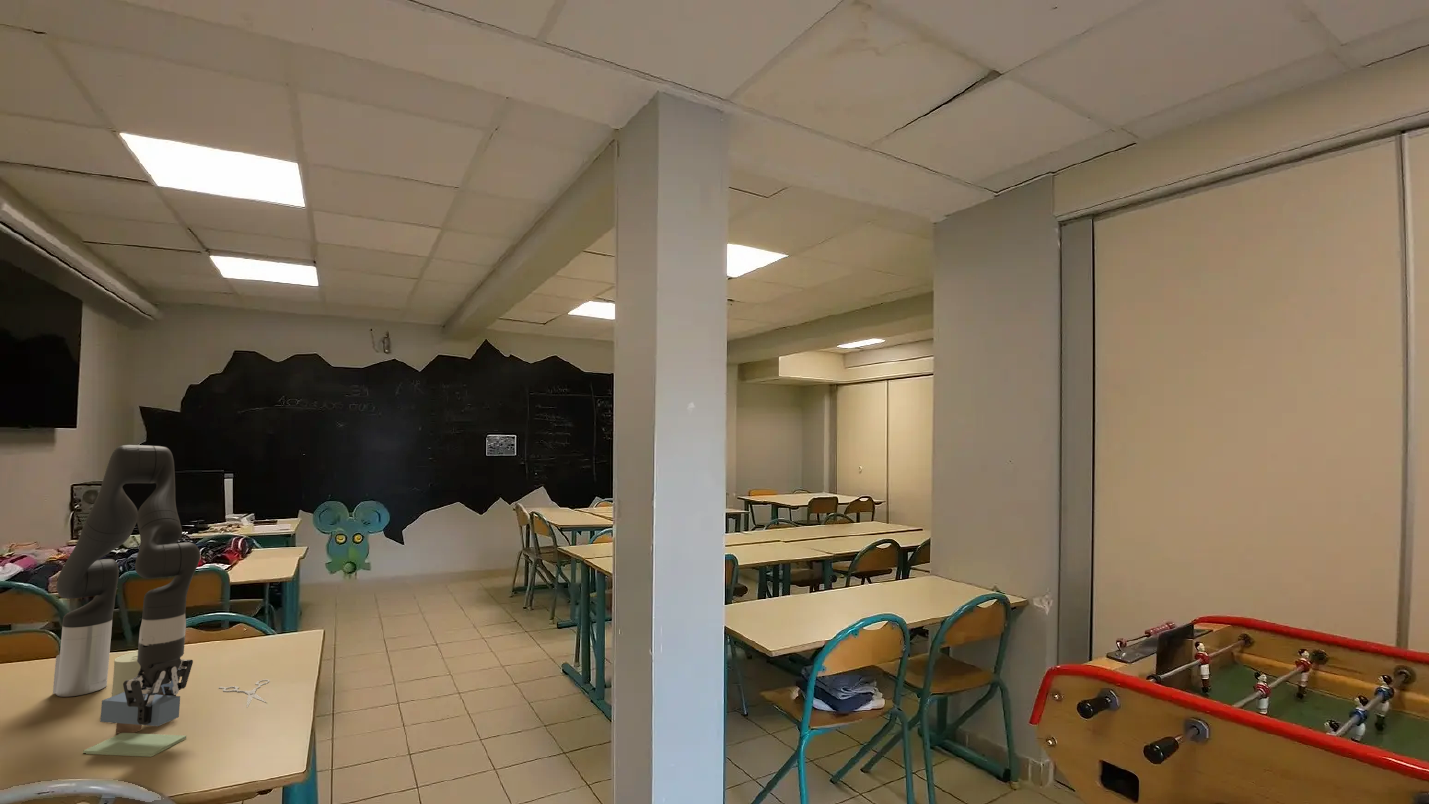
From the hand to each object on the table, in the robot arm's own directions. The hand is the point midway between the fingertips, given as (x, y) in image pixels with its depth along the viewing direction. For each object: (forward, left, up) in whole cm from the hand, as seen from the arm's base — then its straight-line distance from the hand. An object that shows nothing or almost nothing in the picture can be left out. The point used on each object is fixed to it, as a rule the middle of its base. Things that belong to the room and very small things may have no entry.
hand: (156, 718), depth 132 cm
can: (-25, +20, -6) cm, 33 cm away
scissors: (-2, +28, -7) cm, 29 cm away
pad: (-4, 0, -6) cm, 7 cm away
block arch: (-12, +10, -6) cm, 17 cm away
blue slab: (-4, 0, -1) cm, 4 cm away
